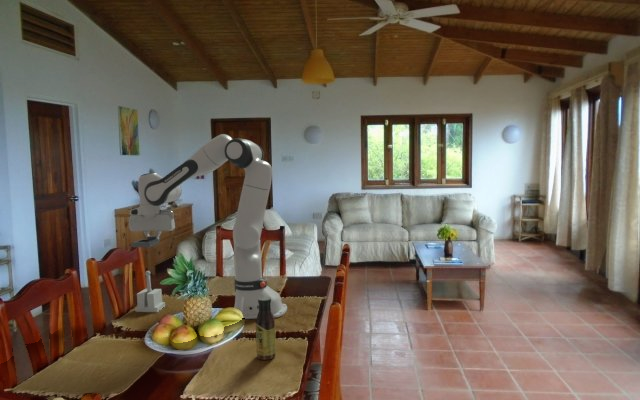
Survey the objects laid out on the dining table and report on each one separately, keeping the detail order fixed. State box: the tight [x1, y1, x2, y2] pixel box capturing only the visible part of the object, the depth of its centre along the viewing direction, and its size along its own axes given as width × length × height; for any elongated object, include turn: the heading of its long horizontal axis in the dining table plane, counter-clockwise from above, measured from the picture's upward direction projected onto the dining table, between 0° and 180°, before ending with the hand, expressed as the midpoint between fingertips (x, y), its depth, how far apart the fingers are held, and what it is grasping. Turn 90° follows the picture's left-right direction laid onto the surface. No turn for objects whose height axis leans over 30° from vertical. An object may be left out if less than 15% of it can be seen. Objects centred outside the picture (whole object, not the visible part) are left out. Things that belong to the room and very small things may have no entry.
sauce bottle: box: [255, 296, 277, 361], centre depth 146 cm, size 6×6×20 cm
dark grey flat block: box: [131, 233, 160, 248], centre depth 196 cm, size 8×13×3 cm, turn 172°
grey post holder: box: [134, 270, 166, 313], centre depth 196 cm, size 10×7×17 cm
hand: (153, 240), depth 200 cm, fingers closed on dark grey flat block, 2 cm apart
